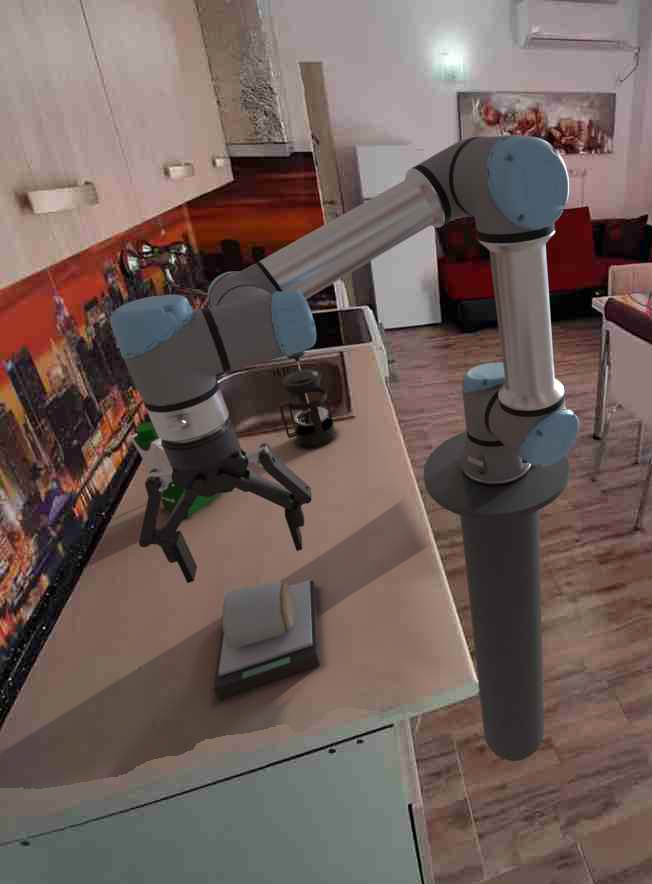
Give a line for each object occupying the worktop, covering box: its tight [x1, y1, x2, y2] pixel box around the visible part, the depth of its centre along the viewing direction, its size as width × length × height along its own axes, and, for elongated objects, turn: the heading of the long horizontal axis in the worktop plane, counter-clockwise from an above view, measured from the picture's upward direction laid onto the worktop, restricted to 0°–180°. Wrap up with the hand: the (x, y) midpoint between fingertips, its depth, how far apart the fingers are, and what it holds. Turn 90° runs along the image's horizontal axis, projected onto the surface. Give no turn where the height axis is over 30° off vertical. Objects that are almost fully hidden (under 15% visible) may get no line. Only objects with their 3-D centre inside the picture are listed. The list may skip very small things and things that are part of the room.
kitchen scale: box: [213, 579, 321, 701], centre depth 75 cm, size 13×14×3 cm
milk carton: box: [129, 420, 219, 518], centre depth 101 cm, size 9×9×20 cm
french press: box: [278, 350, 337, 449], centre depth 121 cm, size 12×9×23 cm
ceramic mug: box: [221, 581, 294, 649], centre depth 74 cm, size 11×8×8 cm
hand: (247, 559), depth 70 cm, fingers open, 13 cm apart
